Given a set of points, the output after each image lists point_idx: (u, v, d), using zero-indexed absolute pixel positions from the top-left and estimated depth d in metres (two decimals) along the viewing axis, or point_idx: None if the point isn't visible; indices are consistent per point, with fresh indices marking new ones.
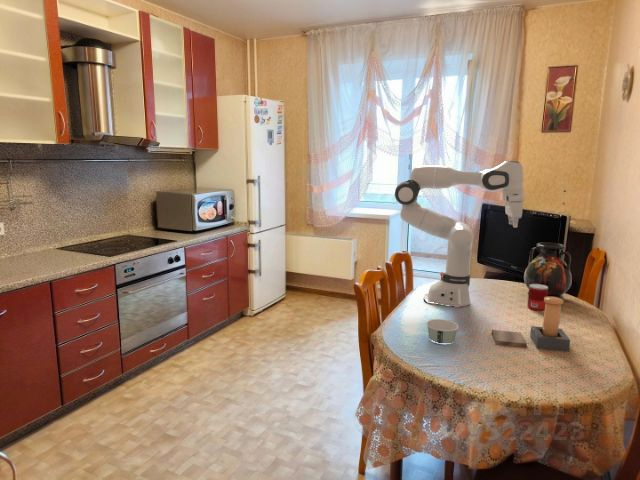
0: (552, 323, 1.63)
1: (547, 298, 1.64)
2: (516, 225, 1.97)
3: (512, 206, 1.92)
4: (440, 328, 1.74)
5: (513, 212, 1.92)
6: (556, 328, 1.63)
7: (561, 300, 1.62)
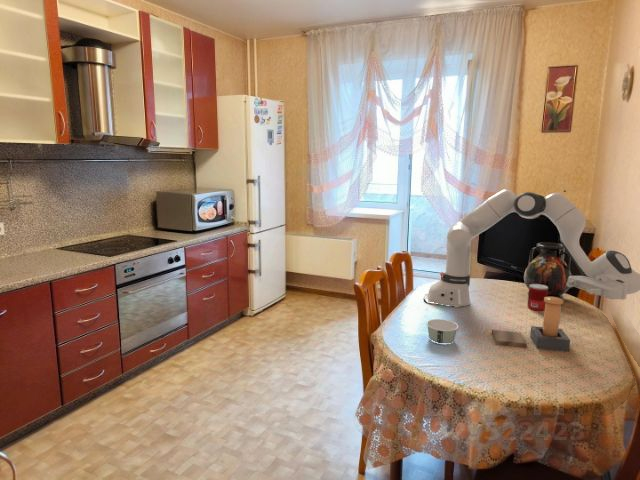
0: (552, 323, 1.63)
1: (547, 298, 1.64)
2: (592, 293, 1.62)
3: (621, 288, 1.60)
4: (440, 328, 1.74)
5: (617, 289, 1.59)
6: (556, 328, 1.63)
7: (561, 300, 1.62)
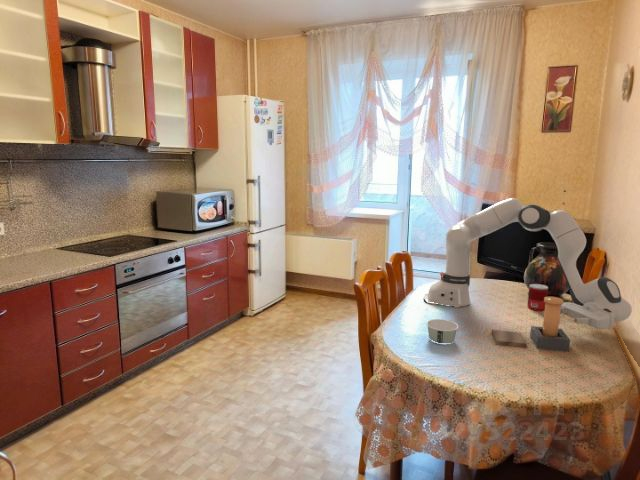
0: (552, 323, 1.63)
1: (547, 298, 1.64)
2: (579, 322, 1.62)
3: (608, 317, 1.61)
4: (440, 328, 1.74)
5: (604, 319, 1.60)
6: (556, 328, 1.63)
7: (561, 300, 1.62)
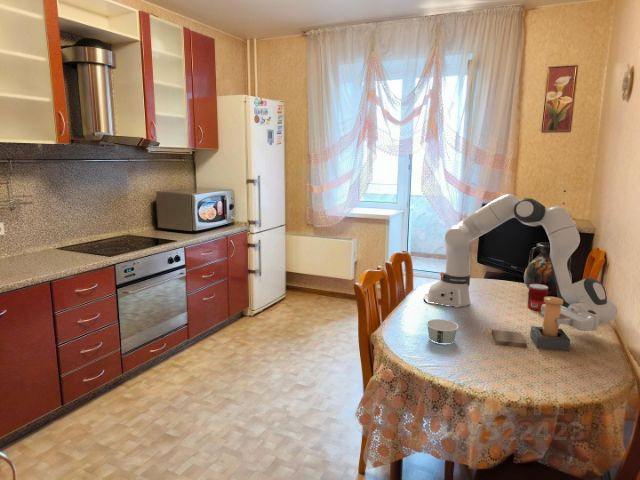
0: (552, 323, 1.63)
1: (547, 298, 1.64)
2: (560, 322, 1.61)
3: (592, 319, 1.58)
4: (440, 328, 1.74)
5: (588, 321, 1.57)
6: (556, 328, 1.63)
7: (561, 300, 1.62)
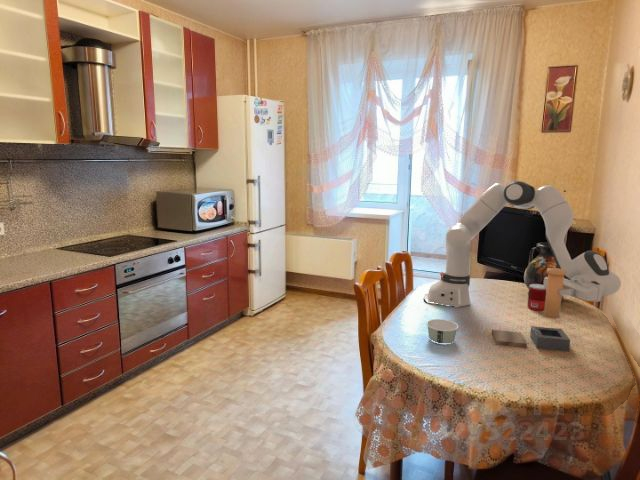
0: (555, 294, 1.61)
1: (550, 269, 1.62)
2: (563, 293, 1.59)
3: (596, 289, 1.56)
4: (440, 328, 1.74)
5: (591, 291, 1.55)
6: (559, 299, 1.61)
7: (564, 271, 1.60)
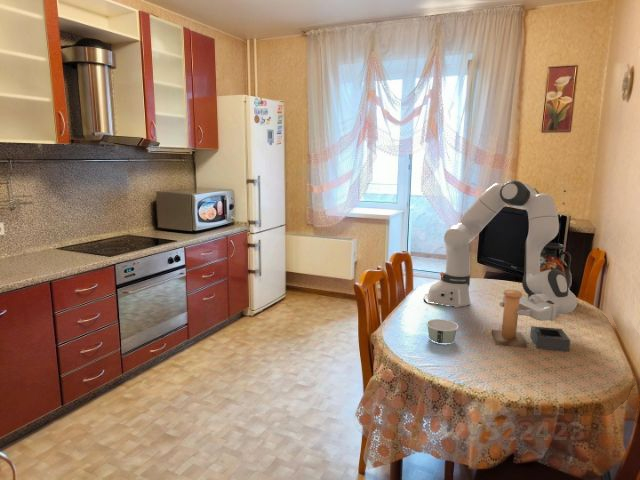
0: (511, 316, 1.66)
1: (506, 291, 1.67)
2: (521, 314, 1.63)
3: (550, 309, 1.61)
4: (440, 328, 1.74)
5: (545, 311, 1.60)
6: (515, 320, 1.66)
7: (520, 293, 1.65)
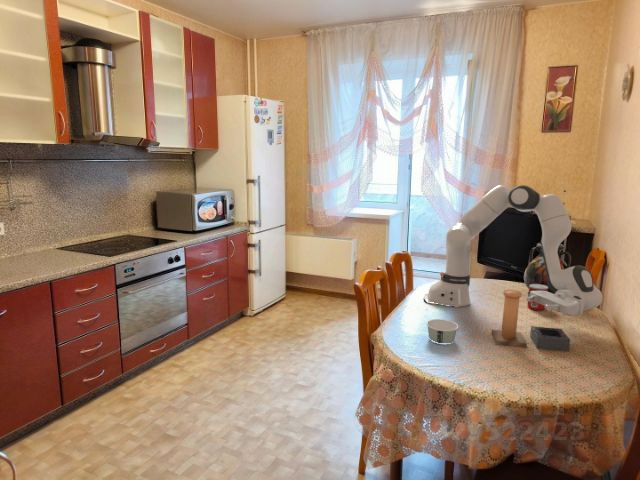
0: (510, 316, 1.66)
1: (506, 291, 1.67)
2: (549, 308, 1.67)
3: (577, 304, 1.65)
4: (440, 328, 1.74)
5: (573, 306, 1.64)
6: (515, 320, 1.66)
7: (519, 293, 1.65)
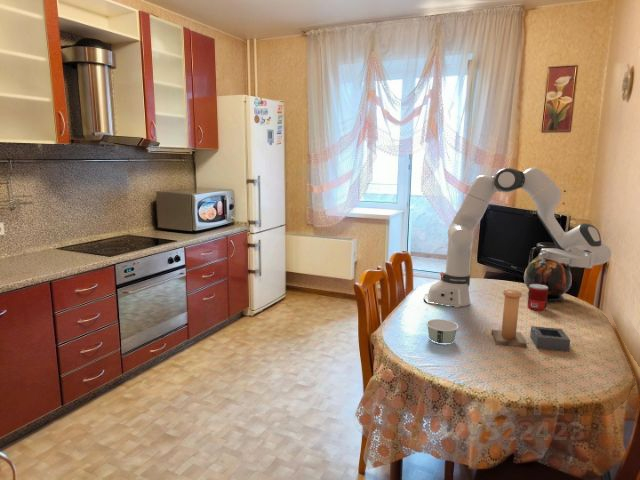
0: (510, 316, 1.66)
1: (506, 291, 1.67)
2: (561, 261, 1.73)
3: (588, 257, 1.71)
4: (440, 328, 1.74)
5: (584, 258, 1.70)
6: (515, 320, 1.66)
7: (519, 293, 1.65)
